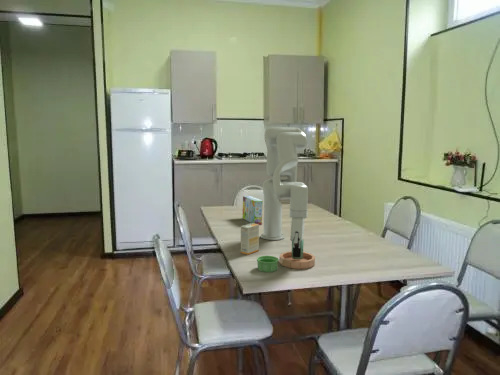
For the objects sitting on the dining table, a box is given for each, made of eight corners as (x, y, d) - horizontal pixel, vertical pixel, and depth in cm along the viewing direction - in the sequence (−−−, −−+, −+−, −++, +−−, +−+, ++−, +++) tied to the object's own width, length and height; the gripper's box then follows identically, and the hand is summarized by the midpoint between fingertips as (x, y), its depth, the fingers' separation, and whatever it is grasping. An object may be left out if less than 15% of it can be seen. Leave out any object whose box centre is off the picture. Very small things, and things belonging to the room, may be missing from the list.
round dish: (282, 256, 185) (282, 250, 184) (315, 259, 181) (316, 252, 181) (277, 267, 170) (277, 260, 170) (313, 270, 167) (313, 263, 166)
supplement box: (251, 249, 196) (251, 222, 194) (259, 251, 193) (259, 224, 191) (240, 253, 189) (240, 225, 187) (247, 255, 186) (248, 227, 184)
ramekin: (265, 274, 162) (265, 263, 161) (252, 268, 169) (252, 257, 169) (282, 270, 167) (283, 259, 166) (269, 264, 174) (269, 254, 174)
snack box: (262, 224, 247) (263, 200, 245) (254, 225, 245) (254, 200, 243) (249, 217, 266) (250, 195, 264) (241, 218, 264) (242, 195, 262)
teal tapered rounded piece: (292, 255, 178) (292, 237, 177) (303, 256, 177) (304, 238, 176) (290, 259, 174) (291, 240, 172) (302, 259, 172) (303, 241, 171)
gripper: (292, 209, 182) (291, 248, 184) (287, 217, 165) (286, 260, 168) (309, 210, 180) (307, 249, 183) (305, 218, 164) (304, 261, 166)
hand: (297, 254), depth 175 cm, fingers closed on teal tapered rounded piece, 5 cm apart
